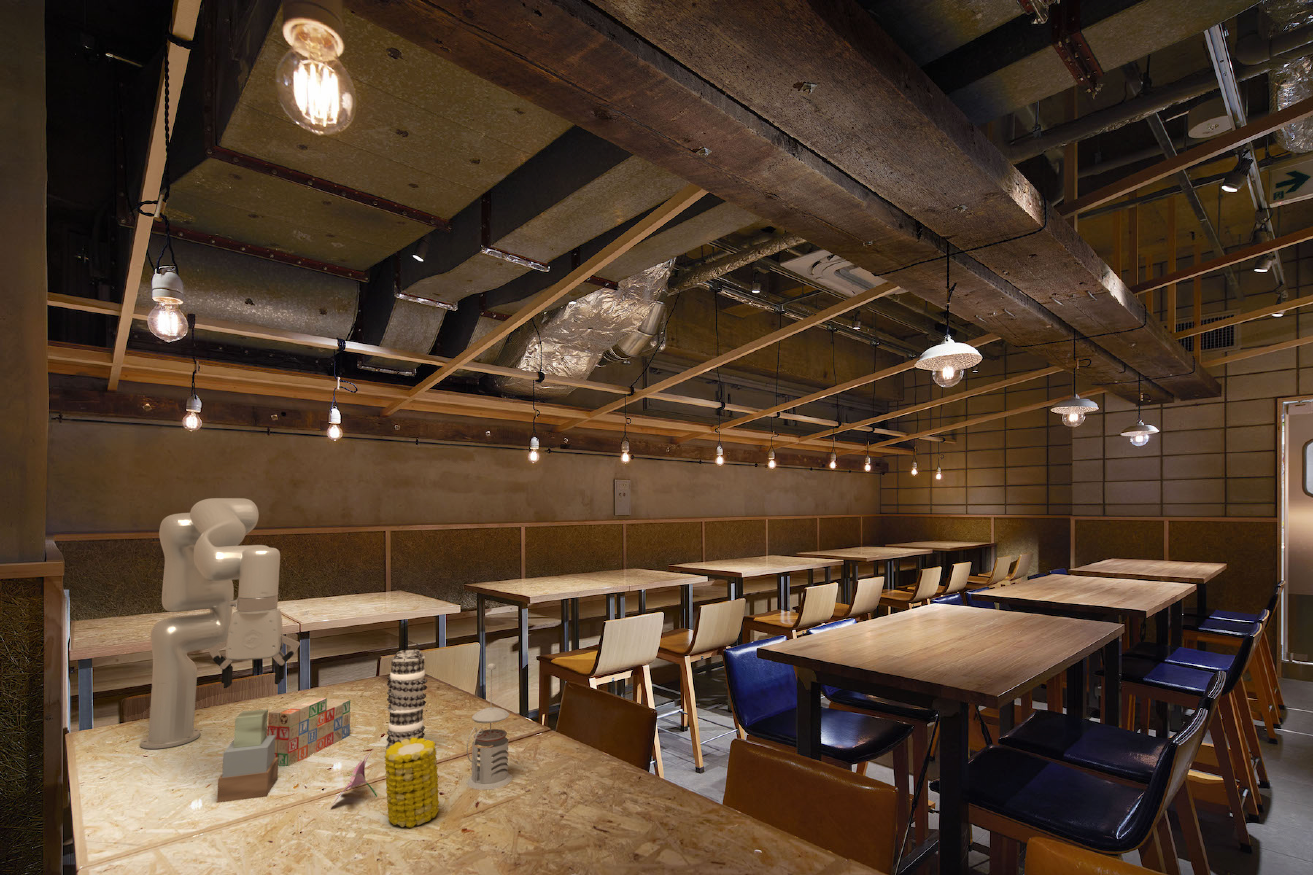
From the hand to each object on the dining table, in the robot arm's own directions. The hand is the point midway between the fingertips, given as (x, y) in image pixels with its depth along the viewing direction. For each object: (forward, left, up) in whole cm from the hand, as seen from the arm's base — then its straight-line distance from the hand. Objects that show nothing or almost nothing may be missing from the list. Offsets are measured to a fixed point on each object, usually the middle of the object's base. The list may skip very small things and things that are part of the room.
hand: (253, 684), depth 142 cm
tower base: (0, 0, -22) cm, 22 cm away
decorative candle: (-8, +31, -22) cm, 39 cm away
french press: (+12, +49, -22) cm, 55 cm away
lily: (+12, +23, -22) cm, 34 cm away
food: (+25, +34, -22) cm, 48 cm away
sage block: (0, 0, -12) cm, 12 cm away
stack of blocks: (-22, +8, -22) cm, 32 cm away
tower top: (+1, 0, -17) cm, 17 cm away
